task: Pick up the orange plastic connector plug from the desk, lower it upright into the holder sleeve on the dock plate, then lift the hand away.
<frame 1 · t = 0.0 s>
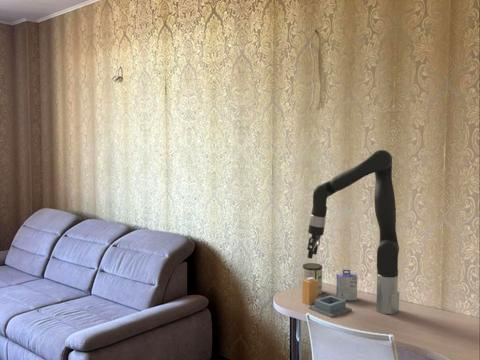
hand: (312, 256, 227), 22 cm above the table, tool pointing down, fingers open, 8 cm apart
coffee can: (312, 292, 242), on the table
connector plug: (310, 301, 227), on the table
holder: (330, 309, 216), on the table
ink cartridge box: (346, 299, 231), on the table
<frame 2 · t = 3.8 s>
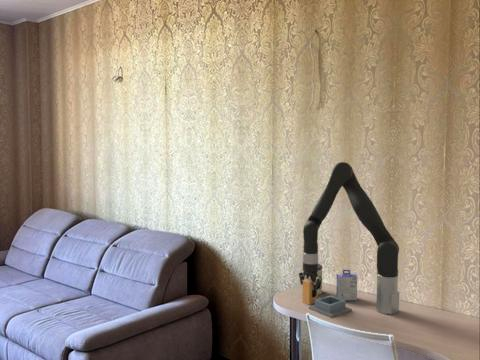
hand: (310, 295, 226), 3 cm above the table, tool pointing down, fingers closed on connector plug, 4 cm apart
connector plug: (310, 301, 227), on the table, touching gripper
everything else where it was.
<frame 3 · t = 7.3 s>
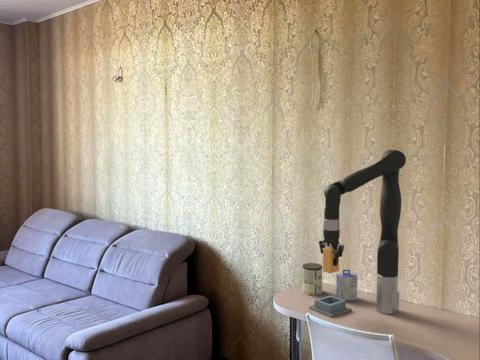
hand: (330, 264, 214), 22 cm above the table, tool pointing down, fingers closed on connector plug, 4 cm apart
connector plug: (330, 271, 215), point 19 cm above the table, touching gripper
everything else where it was.
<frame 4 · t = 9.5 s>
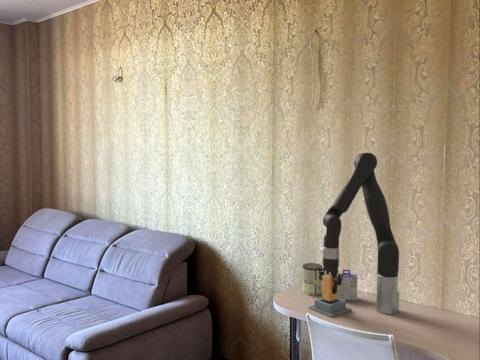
hand: (330, 291, 216), 9 cm above the table, tool pointing down, fingers closed on connector plug, 4 cm apart
connector plug: (329, 298, 216), point 5 cm above the table, touching gripper
everything else where it was.
when the fingers open (6 cm above the table, at t = 11.0 s): connector plug drops 1 cm, resting on holder.
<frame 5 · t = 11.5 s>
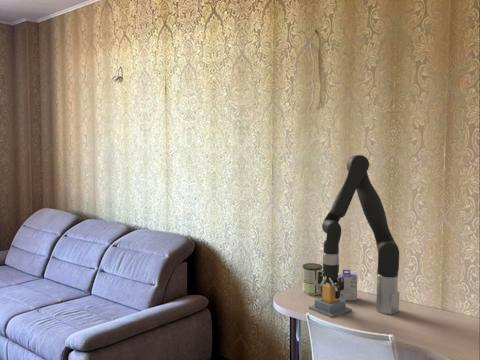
hand: (330, 296, 216), 7 cm above the table, tool pointing down, fingers open, 8 cm apart
connector plug: (330, 307, 216), point 1 cm above the table, touching holder
everything else where it was.
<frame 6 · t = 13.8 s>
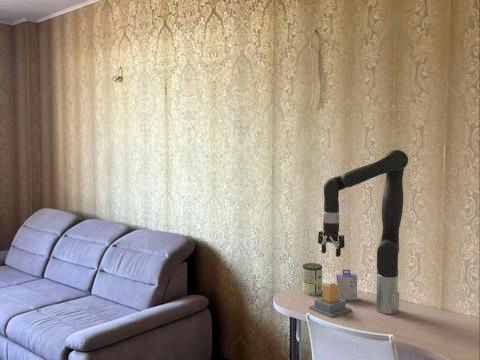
hand: (330, 254, 218), 25 cm above the table, tool pointing down, fingers open, 8 cm apart
nothing on the table moved.
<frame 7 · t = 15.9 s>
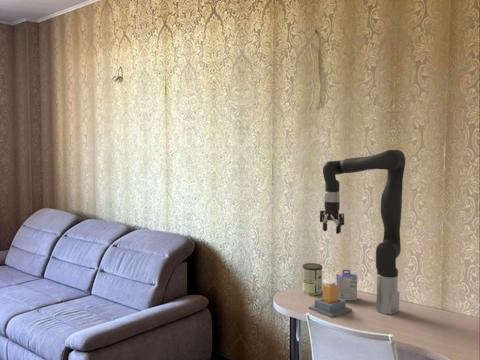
hand: (331, 232, 233), 33 cm above the table, tool pointing down, fingers open, 8 cm apart
nothing on the table moved.
at the end: connector plug 0.0 cm off-centre on the holder, point 1.0 cm above the holder's base; connector plug tilted 0°; the gripper is holding nothing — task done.
